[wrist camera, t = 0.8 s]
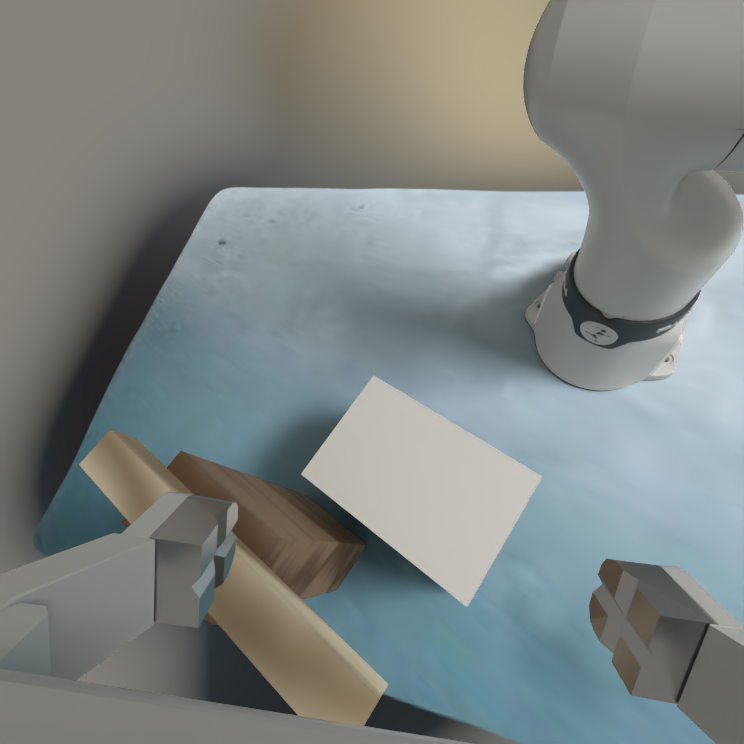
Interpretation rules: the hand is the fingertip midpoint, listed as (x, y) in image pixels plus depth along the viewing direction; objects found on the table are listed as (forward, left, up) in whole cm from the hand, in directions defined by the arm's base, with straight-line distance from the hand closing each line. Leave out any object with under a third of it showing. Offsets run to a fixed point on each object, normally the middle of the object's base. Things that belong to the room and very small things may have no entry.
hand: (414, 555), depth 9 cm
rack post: (+9, -14, -42) cm, 45 cm away
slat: (+9, -11, -16) cm, 21 cm away
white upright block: (-3, -6, -42) cm, 42 cm away
